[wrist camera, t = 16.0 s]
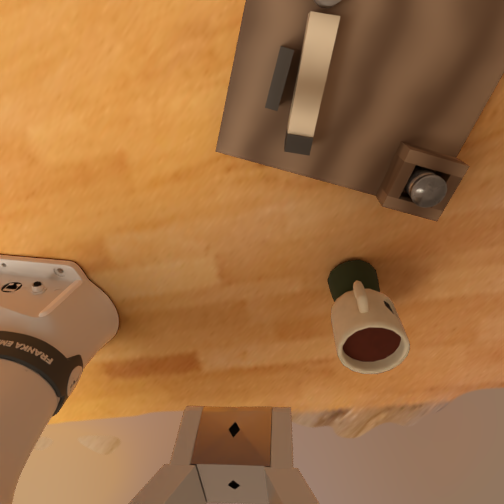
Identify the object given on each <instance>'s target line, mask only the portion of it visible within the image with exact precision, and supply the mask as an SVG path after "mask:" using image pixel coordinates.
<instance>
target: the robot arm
mask: <svg viewBox="0 0 504 504" xmlns="http://www.w3.org/2000/svg"><path fill="white" fill-rule="evenodd" d="M62 269H63V270H62ZM118 326H119V318H118V313H117V311H116V308H115V306H114V304H113V303H112V301H111V300H110V299H109V297H108V296H107V295H106V294H105V293H104V292H103V291H102V290H101V289H99V288H98V287H97V286H96V285H94V284H93V283H92V282H91V281H90V280H89V279H88V278H87V277H86V275H85V274H84V272H83V271H82V269H81V268H80V267H79V266H78V265H77V264H76V263H74V262H72V261H65V260H54V259H42V258H31V257H20V256H9V255H0V504H12V501H13V496H14V492H15V489H16V485H17V483H18V479H19V477H20V475H21V472H22V470H23V468H24V466H25V464H26V462H27V460H28V458H29V456H30V453H31V452H32V450H33V448H34V446H35V445H36V443H37V441H38V439H39V437H40V435H41V434H42V432H43V430H44V428H45V427H46V425H47V423H48V422H49V420H50V419H51V417H52V416H54V415H56V414H57V413H58V412H59V410H60V409H61V407H62V406H63V404H64V403H65V401H66V400H67V398H68V397H69V396H70V395H71V393H72V392H73V390H74V388H75V387H76V385H77V383H78V381H79V379H80V377H81V374H82V372H83V369H84V368H85V366H86V365H87V364H88V363H89V361H90V360H91V359H92V358H93V357H94V355H95V354H96V353H97V352H98V351H99V350H100V349H101V348H102V347H103V346H104V345H105V344H106V343H107V342H109V341H110V340H111V339H112V338H113V337H114V336H115V334H116V332H117V330H118ZM206 503H243V504H319V502H318V501H317V499H316V497H315V496H314V494H313V492H312V491H311V489H310V488H309V486H308V484H307V483H306V481H305V479H304V478H303V476H302V474H301V473H300V471H299V469H298V468H293V443H292V420H291V407H208V406H187V407H186V409H185V410H184V412H183V416H182V420H181V423H180V427H179V431H178V434H177V438H176V442H175V445H174V449H173V453H172V457H171V460H170V464H164V465H163V466H162V467H161V468H160V469H159V471H158V472H157V473H156V474H155V475H154V476H153V477H152V478H151V479H150V480H149V482H148V483H147V484H146V485H145V486H144V487H143V488H142V489H141V490H140V491H139V493H138V494H137V495H136V496H135V497H134V498H133V499H132V500H131V501H130V503H129V504H206Z"/></svg>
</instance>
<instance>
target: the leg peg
mask: <svg viewBox="0 0 504 504" xmlns="http://www.w3.org/2000/svg"><path fill="white" fill-rule="evenodd" d="M404 189H405V191H406V192H407V193H408V194H409V195H410V197H411V199H412V201H413V202H414V203H415V204H416V205H417V206H420V207H424V208H427V207H432V206H435V205H436V204H438V203H439V202H441V201H442V200H443V198H444V197H445V195H446V192H447V184H446V182H445V181H444V180H443V179H442V178H441V177H440V176H438V175H436V174H435V173H433V172H432V171H431V170H430V169H429V168H425V167H422V166H418V165H416V166H415V168H414V170H413V172H412V174H411V176H410V178H409V180H408V182H407V183H406V185H405V187H404Z"/></svg>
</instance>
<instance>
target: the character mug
mask: <svg viewBox="0 0 504 504" xmlns="http://www.w3.org/2000/svg"><path fill="white" fill-rule="evenodd" d="M328 284H329V288H330V291H331V294H332V297H333V299H334V302H335V303H334V304H333V306H332V309H331V322H332V327H333V333H334V339H335V344H336V350H337V355H338V357H339V359H340V360H341V362H342V364H343V365H345V366H346V367H347V368H349V369H350V370H352V371H355V372H359V373H362V374H378V373H382V372H385V371H389V370H391V369H393V368H394V367H396V366H398V365H399V364H401V363H402V361H403V360H404V359H405V358H406V357H407V355H408V352H409V350H410V344H409V340H408V337H407V335H406V332H405V330H404V328H403V325H402V323H401V321H400V318H399V316H398V313H397V311H396V309H395V306H394V304H393V302H392V300H391V299H390V298H389V297H387V296H386V295H385V294H384V293H381V292H380V289H379V283H378V278H377V274H376V270H375V269H374V268H373V267H372V266H371V265H370V264H369V263H367V262H364V261H361V260H354V261H348V262H345V263H343V264H340V265H338V266H337V267H336V268H335V269H334V270H332V271H331V273H330V275H329V278H328Z"/></svg>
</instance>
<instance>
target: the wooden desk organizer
mask: <svg viewBox="0 0 504 504" xmlns="http://www.w3.org/2000/svg"><path fill="white" fill-rule="evenodd" d="M310 11H312V12H318V13H324V14H330V15H336V16H340V21H339V25H338V30H337V34H336V39H335V43H334V47H333V52H332V56H331V61H330V65H329V69H328V74H327V78H326V83H325V87H324V92H323V96H322V100H321V105H320V109H319V114H318V118H317V122H316V127H315V131H314V136H313V142H312V147H311V151H310V156H308V155H302V154H296V153H290V152H284V141H285V136H286V131H287V125H288V120H289V115H290V109H291V104H292V99H293V93H294V88H295V83H296V77H297V72H298V67H299V61H300V56H301V51H302V45H303V40H304V34H305V29H306V24H307V18H308V14H309V13H310ZM503 73H504V0H341V1H340V2H338V3H337V4H336V5H334V6H333V7H330V8H322V7H320V6H318V5H317V4H316V3H315V2H314V0H246V2H245V7H244V12H243V17H242V22H241V27H240V32H239V37H238V42H237V47H236V52H235V57H234V62H233V67H232V72H231V77H230V82H229V87H228V92H227V97H226V102H225V107H224V112H223V117H222V122H221V127H220V132H219V137H218V142H217V147H216V152H219V153H223V154H226V155H230V156H234V157H237V158H241V159H245V160H248V161H252V162H255V163H259V164H263V165H266V166H270V167H274V168H277V169H281V170H285V171H288V172H292V173H295V174H299V175H303V176H306V177H310V178H314V179H317V180H321V181H324V182H328V183H332V184H335V185H339V186H343V187H346V188H350V189H354V190H357V191H361V192H364V193H368V194H372V195H375V196H376V197H377V199H378V200H379V202H380V203H381V205H382V206H383V207H386V208H390V209H394V210H397V211H401V212H405V213H408V214H412V215H416V216H419V217H423V218H426V219H430V220H434V221H438V219H439V217H440V216H441V214H442V212H443V211H444V209H445V207H446V205H447V204H448V202H449V200H450V199H451V197H452V195H453V194H454V192H455V190H456V188H457V187H458V185H459V183H460V182H461V180H462V178H463V177H464V175H465V173H466V171H467V170H468V168H469V166H468V165H467V164H465V163H464V162H462V161H461V160H459V159H458V158H456V157H457V155H458V153H459V152H460V150H461V148H462V146H463V144H464V143H465V141H466V139H467V137H468V136H469V134H470V132H471V130H472V128H473V127H474V125H475V123H476V121H477V120H478V118H479V116H480V114H481V112H482V111H483V109H484V107H485V105H486V103H487V102H488V100H489V98H490V96H491V95H492V93H493V91H494V89H495V87H496V86H497V84H498V82H499V80H500V79H501V77H502V75H503ZM416 165H418V166H422V167H425V168H429V169H430V170H431V171H432V172H433V173H435V174H436V175H438V176H440V177H441V178H442V179H443V180H444V181H445V182H446V184H447V192H446V195H445V197H444V198H443V200H442V201H441V202H439V203H438V204H436V205H435V206H432V207H427V208H424V207H420V206H417V205H416V204H415V203H414V202H413V201H412V199H411V197H410V195H409V194H408V193H407V192H406V191H405V189H404V187H405V185H406V183H407V182H408V180H409V178H410V176H411V174H412V172H413V170H414V168H415V166H416Z"/></svg>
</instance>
